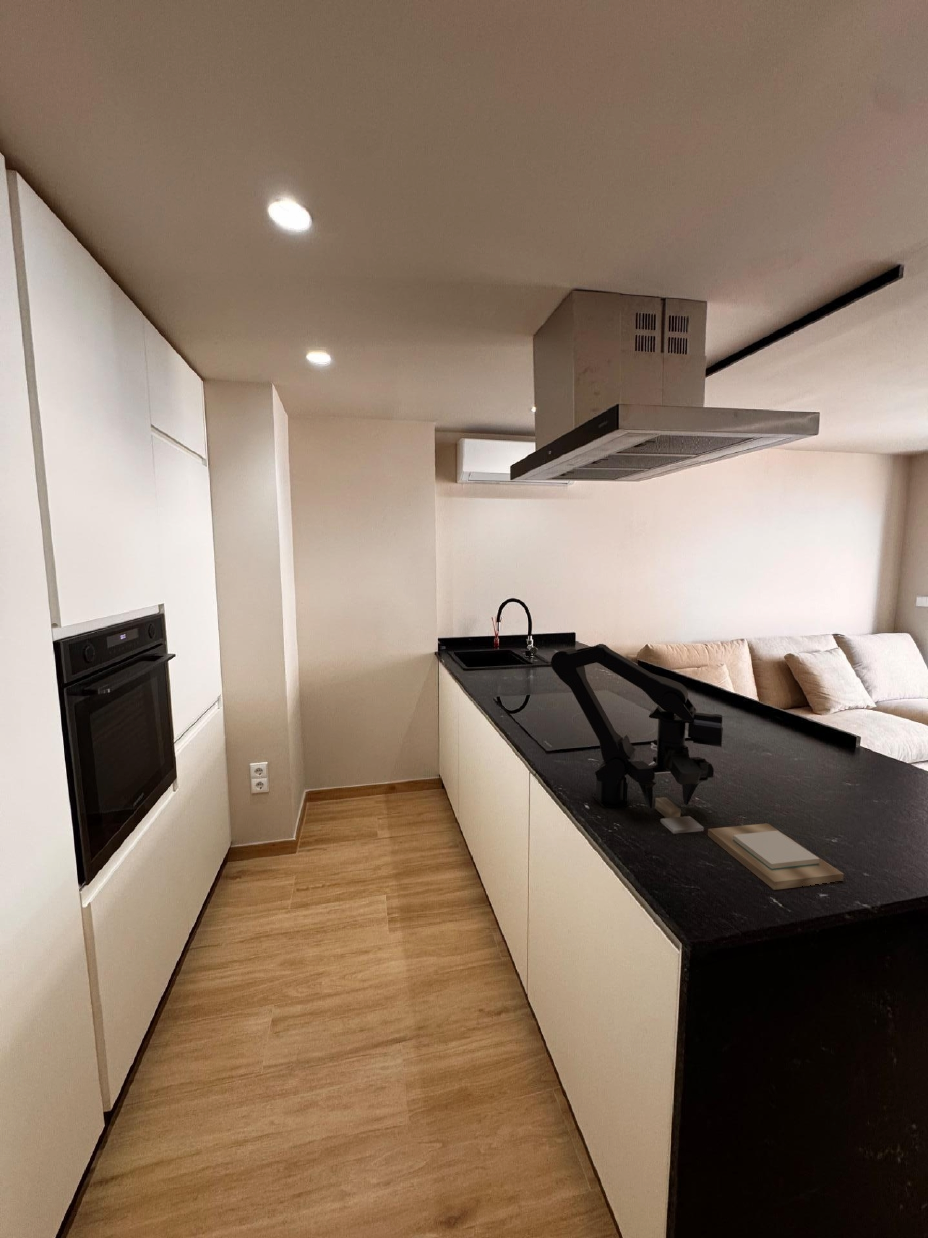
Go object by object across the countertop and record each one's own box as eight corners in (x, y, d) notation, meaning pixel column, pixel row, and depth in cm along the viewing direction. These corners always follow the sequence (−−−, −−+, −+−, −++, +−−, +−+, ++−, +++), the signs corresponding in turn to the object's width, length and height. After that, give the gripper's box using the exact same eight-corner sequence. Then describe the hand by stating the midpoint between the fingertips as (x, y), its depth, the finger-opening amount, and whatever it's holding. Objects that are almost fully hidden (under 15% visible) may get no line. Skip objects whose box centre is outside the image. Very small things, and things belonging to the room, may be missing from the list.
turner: (673, 834, 107) (674, 822, 106) (646, 809, 117) (646, 799, 117) (703, 831, 108) (704, 819, 107) (673, 806, 119) (674, 796, 118)
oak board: (773, 890, 88) (774, 882, 88) (707, 835, 106) (708, 829, 106) (842, 881, 90) (843, 873, 90) (766, 830, 108) (767, 823, 108)
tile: (732, 840, 101) (771, 870, 91) (733, 835, 101) (771, 864, 91) (776, 836, 103) (819, 864, 93) (777, 830, 103) (819, 858, 93)
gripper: (651, 754, 104) (648, 827, 105) (733, 749, 107) (728, 819, 108) (625, 736, 115) (623, 802, 116) (700, 732, 118) (696, 796, 119)
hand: (667, 805), depth 115 cm, fingers open, 9 cm apart
